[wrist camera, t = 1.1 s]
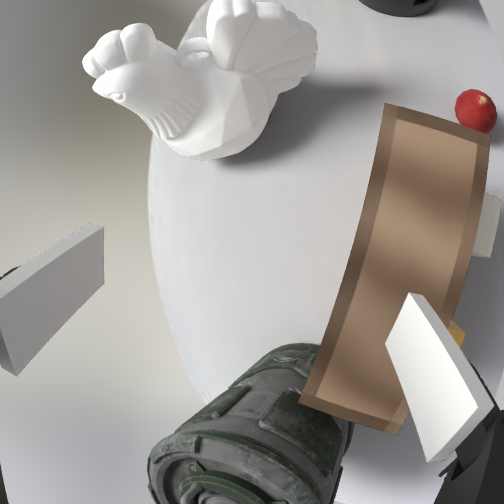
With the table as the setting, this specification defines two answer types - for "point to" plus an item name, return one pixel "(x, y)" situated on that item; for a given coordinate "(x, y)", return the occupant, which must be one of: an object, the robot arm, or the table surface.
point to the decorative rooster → (207, 75)
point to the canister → (255, 442)
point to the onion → (476, 111)
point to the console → (400, 260)
